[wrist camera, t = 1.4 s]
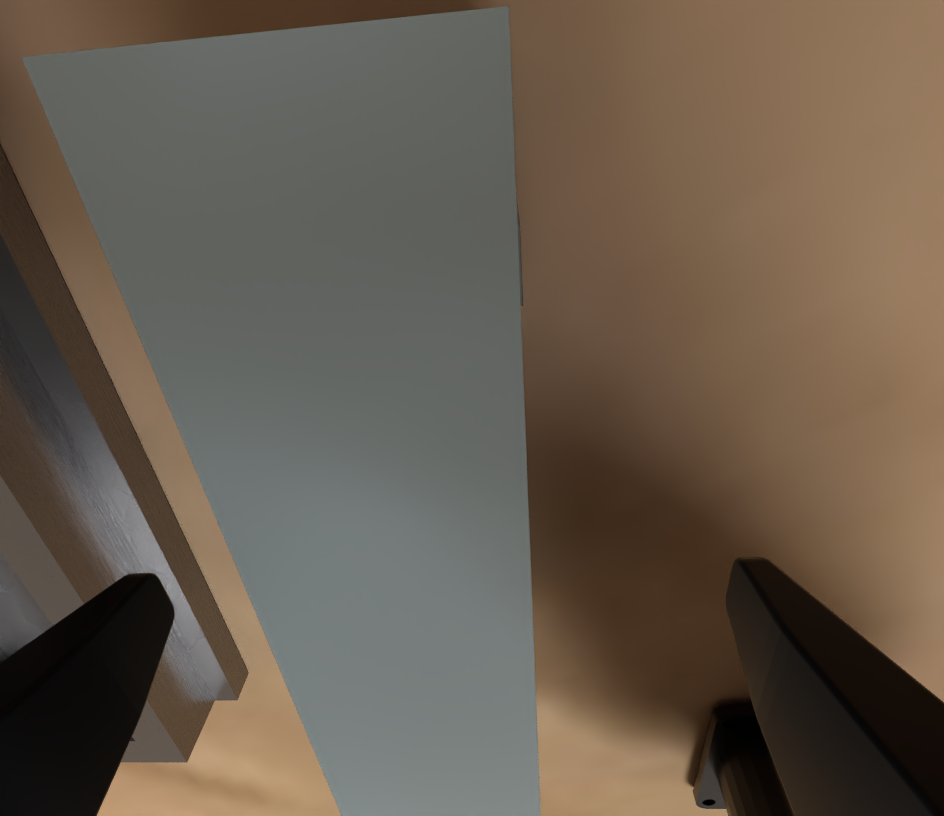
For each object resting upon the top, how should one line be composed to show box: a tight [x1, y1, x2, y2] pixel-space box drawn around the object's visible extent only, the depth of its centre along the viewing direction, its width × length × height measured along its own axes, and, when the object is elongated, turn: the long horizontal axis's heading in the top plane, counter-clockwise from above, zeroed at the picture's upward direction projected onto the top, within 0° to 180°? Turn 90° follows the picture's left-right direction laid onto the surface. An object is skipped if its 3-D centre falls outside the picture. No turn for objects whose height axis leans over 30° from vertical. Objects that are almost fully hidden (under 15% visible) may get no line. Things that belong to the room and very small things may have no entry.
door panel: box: [22, 6, 541, 816], centre depth 10 cm, size 14×3×8 cm, turn 5°
